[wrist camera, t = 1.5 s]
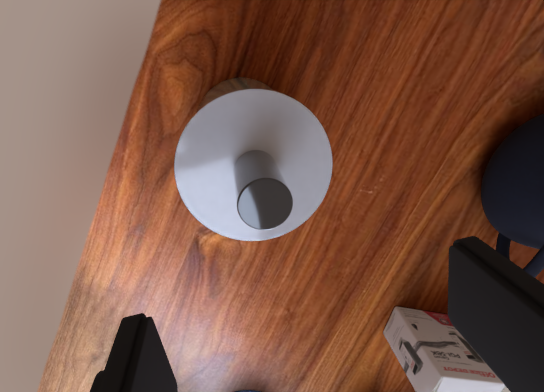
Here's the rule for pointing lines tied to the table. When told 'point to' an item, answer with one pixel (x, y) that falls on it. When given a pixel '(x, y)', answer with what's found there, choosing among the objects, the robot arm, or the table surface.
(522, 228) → the teapot
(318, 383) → the table surface
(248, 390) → the pot
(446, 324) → the ink box
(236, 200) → the lid
